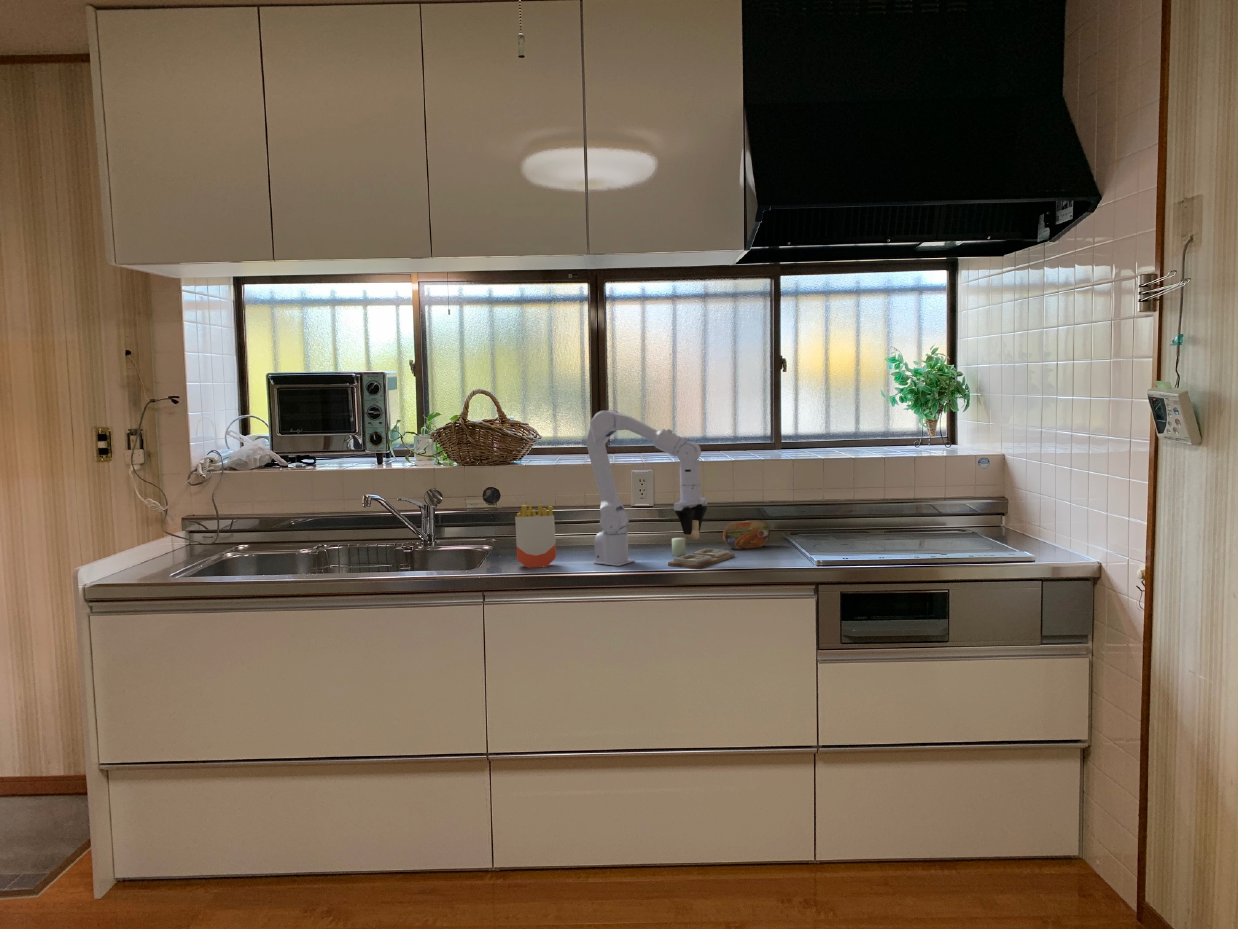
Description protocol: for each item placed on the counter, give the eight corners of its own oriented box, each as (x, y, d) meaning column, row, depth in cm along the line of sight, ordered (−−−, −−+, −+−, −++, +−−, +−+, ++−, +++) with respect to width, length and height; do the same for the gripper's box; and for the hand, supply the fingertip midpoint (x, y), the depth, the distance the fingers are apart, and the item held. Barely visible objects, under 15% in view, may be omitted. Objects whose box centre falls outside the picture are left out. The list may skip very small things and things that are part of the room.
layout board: (668, 565, 234) (667, 558, 233) (704, 554, 250) (704, 547, 249) (698, 569, 228) (698, 561, 228) (734, 556, 244) (734, 549, 243)
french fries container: (519, 565, 243) (516, 504, 241) (556, 564, 243) (554, 502, 241) (517, 568, 238) (514, 506, 237) (555, 567, 238) (552, 504, 237)
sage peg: (669, 555, 249) (669, 539, 248) (676, 553, 252) (676, 537, 252) (681, 557, 246) (680, 540, 246) (688, 554, 250) (687, 538, 249)
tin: (725, 550, 254) (725, 523, 254) (721, 548, 258) (721, 521, 257) (770, 546, 258) (770, 519, 258) (766, 544, 261) (765, 518, 261)
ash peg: (682, 539, 234) (681, 521, 233) (689, 537, 237) (689, 519, 237) (694, 540, 231) (693, 522, 231) (701, 538, 235) (701, 520, 234)
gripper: (688, 488, 225) (690, 537, 226) (715, 482, 236) (717, 530, 237) (666, 487, 229) (668, 536, 230) (694, 482, 241) (695, 528, 242)
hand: (691, 533), depth 234 cm, fingers closed on ash peg, 4 cm apart
